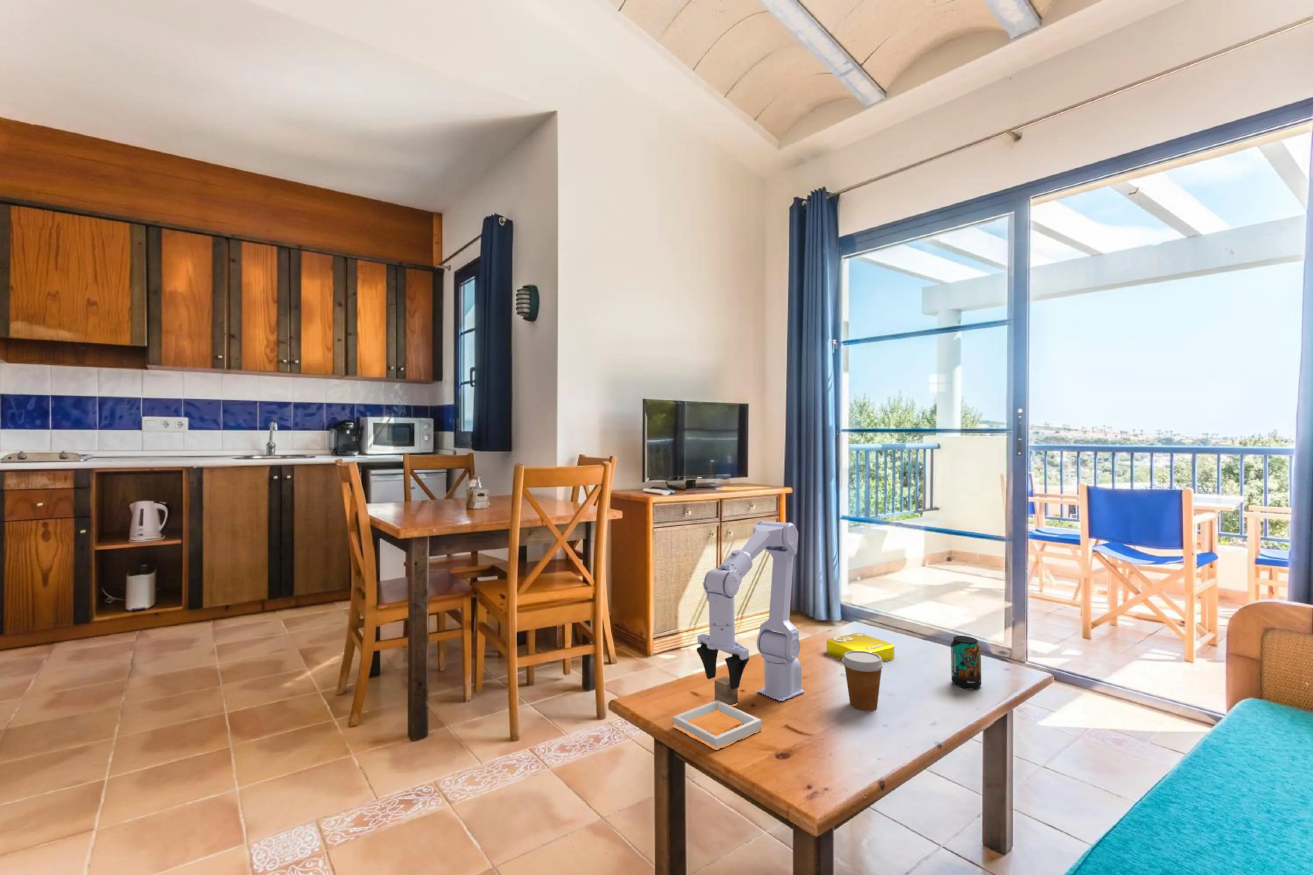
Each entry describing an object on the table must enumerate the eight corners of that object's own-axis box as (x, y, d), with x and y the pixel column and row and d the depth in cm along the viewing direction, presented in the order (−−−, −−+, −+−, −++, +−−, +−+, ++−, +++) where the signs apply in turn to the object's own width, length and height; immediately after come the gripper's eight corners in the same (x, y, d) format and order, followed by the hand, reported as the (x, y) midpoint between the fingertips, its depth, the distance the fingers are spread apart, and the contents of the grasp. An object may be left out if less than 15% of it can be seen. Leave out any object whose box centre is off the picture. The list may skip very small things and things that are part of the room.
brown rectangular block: (726, 699, 152) (726, 675, 152) (737, 705, 149) (737, 680, 149) (714, 704, 150) (714, 679, 150) (726, 709, 146) (726, 684, 147)
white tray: (717, 710, 146) (717, 699, 146) (761, 731, 135) (761, 719, 135) (673, 727, 137) (672, 716, 137) (716, 751, 126) (716, 739, 126)
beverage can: (978, 692, 155) (977, 644, 155) (949, 685, 159) (948, 639, 159) (983, 683, 160) (982, 637, 161) (954, 677, 165) (953, 633, 165)
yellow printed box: (861, 668, 173) (861, 652, 173) (823, 653, 186) (823, 638, 186) (897, 659, 180) (897, 643, 180) (858, 645, 193) (858, 630, 194)
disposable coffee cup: (857, 716, 142) (857, 664, 142) (835, 700, 151) (834, 651, 151) (892, 711, 144) (891, 660, 145) (868, 695, 154) (867, 648, 154)
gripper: (687, 619, 141) (688, 677, 141) (732, 633, 130) (733, 697, 129) (709, 613, 145) (710, 670, 145) (754, 627, 134) (755, 688, 134)
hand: (722, 682), depth 138 cm, fingers open, 7 cm apart
